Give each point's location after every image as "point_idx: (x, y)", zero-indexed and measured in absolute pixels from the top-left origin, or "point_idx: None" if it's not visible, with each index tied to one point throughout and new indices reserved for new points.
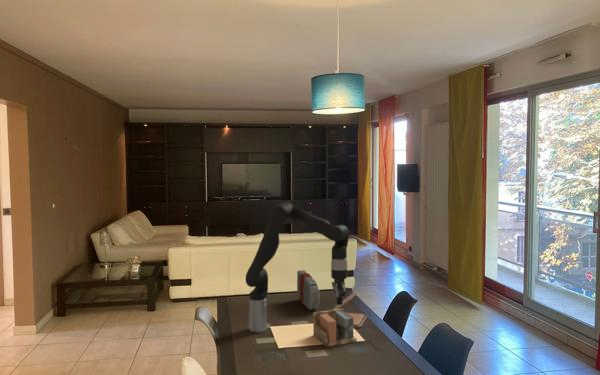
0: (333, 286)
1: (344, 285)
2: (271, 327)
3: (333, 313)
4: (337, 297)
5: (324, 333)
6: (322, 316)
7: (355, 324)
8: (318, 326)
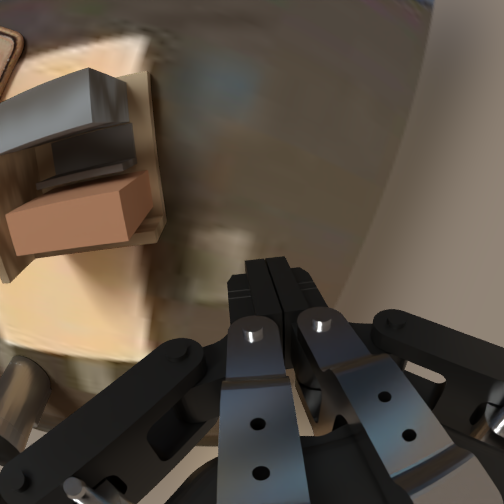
0: (131, 491)
1: (470, 460)
2: (10, 342)
3: None
4: (289, 363)
5: (149, 243)
6: (39, 249)
7: (8, 55)
8: (66, 249)
